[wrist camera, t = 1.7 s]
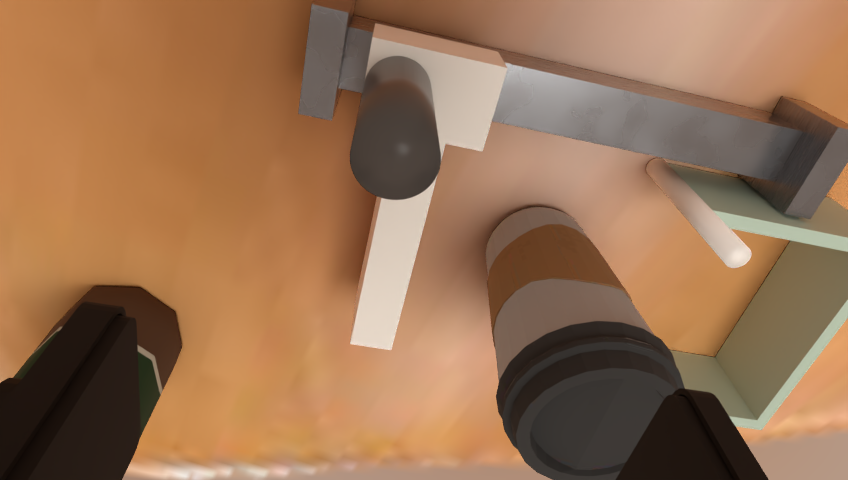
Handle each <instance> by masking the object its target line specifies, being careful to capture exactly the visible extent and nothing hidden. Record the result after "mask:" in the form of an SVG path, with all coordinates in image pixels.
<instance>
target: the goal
mask: <svg viewBox="0 0 848 480" xmlns="http://www.w3.org/2000/svg"><path fill="white" fill-rule="evenodd" d="M646 172H647V173H648V175H649V176H650V177H651V178H652V179H653V180H654V182H655V183H656V184H657V185H658V186H659V187H660V189H661V190H662V191H663V192H664V193H665V194H666V196H667V197H668V198H669V199H670V200H671V201H672V203H673V204H674V205H675V206H676V207H677V208H678V210H679V211H680V212H681V213H682V214H683V215H684V217H685V218H686V219H687V220H688V221H689V222H690V223H691V225H692V226H693V227H694V228H695V229H696V230H697V232H698V233H699V234H700V235H701V236H702V237H703V239H704V240H705V241H706V242H707V243H708V244H709V246H710V247H711V248H712V249H713V250H714V251H715V253H716V254H717V255H718V256H719V257H720V258H721V260H722V261H723V262H724V263H725V264H726V265H727V266H728V267H730V268H738V267H741V266H743V265H745V264H746V263H747V262H748V261H749V260H750V258H751V250H750V249H749V248H748V247H747V246H746V245H745V244H744V243H743V242H742V240H741V239H740V238H739V237H738V236H737V235H736V234H735V233H734V232H733V231H732V230H731V229H736V230H741V231H746V232H751V233H756V234H761V235H766V236H771V237H776V238H781V239H786V240H790V242H789V244H788V245H787V247H786V248H785V250H784V251H783V253H782V254H781V256H780V258H779V259H778V261H777V262H776V264H775V265H774V267H773V268H772V270H771V271H770V273H769V275H768V276H767V278H766V279H765V281H764V282H763V284H762V285H761V287H760V288H759V290H758V292H757V293H756V295H755V296H754V298H753V299H752V301H751V302H750V304H749V305H748V307H747V309H746V310H745V312H744V313H743V315H742V316H741V318H740V319H739V321H738V322H737V324H736V326H735V327H734V329H733V330H732V332H731V333H730V335H729V336H728V338H727V340H726V341H725V343H724V344H723V346H722V347H721V349H720V350H719V352H718V353H717V355H716V357H710V356H704V355H698V354H692V353H686V352H679V351H673V350H670V351H671V352H672V354H673V357H674V360H675V363H676V367H677V368H678V369H679V372H680V374H681V378H682V381H683V384H684V387H685V389H691V390H698V391H704V392H710V393H712V394H714V395H715V396H716V397H717V398H718V399H719V401H720V403H721V404H722V406H723V407H724V409H725V411H726V412H727V414H728V415H729V417H730V419H731V420H732V422H733V423H734V425H735V426H737V427H744V428H750V429H757V430H762V429H763V428H764V426H765V425H766V424H767V422H768V421H769V420H770V418H771V417H772V416H773V415H774V413H775V412H776V411H777V409H778V408H779V407H780V405H781V404H782V403H783V402H784V400H785V399H786V398H787V396H788V395H789V394H790V392H791V391H792V390H793V388H794V387H795V386H796V385H797V383H798V382H799V381H800V379H801V378H802V377H803V375H804V374H805V373H806V372H807V370H808V369H809V368H810V366H811V365H812V364H813V362H814V361H815V360H816V358H817V357H818V356H819V355H820V353H821V352H822V351H823V349H824V348H825V347H826V345H827V344H828V343H829V342H830V340H831V339H832V338H833V336H834V335H835V334H836V332H837V331H838V330H839V328H840V327H841V326H842V325H843V323H844V322H845V321H846V319H847V318H848V210H847V209H845V208H844V207H843V206H841V205H840V204H838V203H837V202H836V201H834V200H833V199H832V198H829V197H825V198H824V199H823V201H822V203H821V204H820V206H819V207H818V209H817V210H816V212H815V213H814V215H813V216H812V218H811V219H806V218H801V217H796V216H791V215H786V214H784V213H782V212H781V211H780V210H779V209H778V208H776V207H775V206H774V205H773V204H772V203H771V202H769V201H768V200H767V199H766V198H765V197H764V196H762V195H761V194H760V193H759V192H758V191H757V190H755V189H754V188H753V187H752V186H751V185H749V184H748V183H747V182H746V181H745V180H744V179H740V178H735V177H730V176H726V175H721V174H716V173H712V172H707V171H702V170H698V169H693V168H688V167H684V166H679V165H674V164H670V163H666V162H665V161H664V160H663V159H661V158H655V159H652V160H651V161H650V162H649V163H648V164H647V166H646ZM730 228H731V229H730Z"/></svg>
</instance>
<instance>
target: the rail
mask: <svg viewBox="0 0 848 480" xmlns="http://www.w3.org/2000/svg"><path fill="white" fill-rule="evenodd" d="M355 2H356V0H315V1H314V2H313V3H312V6H311V14H310V22H309V30H308V39H307V47H306V55H305V63H304V71H303V80H302V88H301V96H300V104H299V112H298V114H302V115H306V116H311V117H316V118H321V119H326V120H331V121H332V119H333V116H334V113H335V109H336V106H337V103H338V100H339V96H340V93H341V90H342V89H345V90H350V91H354V92H359V93H362V91H363V87H364V81H365V76H366V70H367V64H368V59H369V53H370V48H371V42H372V36H373V32H374V27H375V23H377V24H381V25H386V26H390V27H394V28H399V29H403V30H407V31H412V32H416V33H420V34H424V35H429V36H433V37H437V38H442V39H446V40H450V41H454V42H459V43H463V44H467V45H472V46H476V47H480V48H485V49H489V50H493V51H497V52H499V54H500V56H501V57H502V59H503V61H504V63H505V64H506V66H507V68H508V69H507V72H506V75H505V79H504V82H503V85H502V89H501V92H500V95H499V99H498V102H497V105H496V109H495V112H494V115H493V119H492V121H494V122H499V123H503V124H508V125H513V126H517V127H522V128H527V129H531V130H536V131H541V132H545V133H550V134H555V135H559V136H564V137H569V138H573V139H578V140H583V141H587V142H592V143H596V144H601V145H606V146H610V147H615V148H620V149H624V150H629V151H634V152H638V153H643V154H648V155H652V156H657V157H662V158H666V159H671V160H676V161H680V162H685V163H690V164H694V165H699V166H704V167H708V168H713V169H718V170H722V171H727V172H732V173H736V174H738V175H739V176H740V177H741V178H742V179H744V180H745V181H746V182H747V183H748V184H749V185H751V186H752V187H753V188H754V189H755V190H757V191H758V192H759V193H760V194H761V195H762V196H764V197H765V198H766V199H767V200H768V201H769V202H771V203H772V204H773V205H774V206H775V207H776V208H778V209H779V210H780V211H781V212H782V213H784V214H786V215H791V216H796V217H801V218H806V219H811V218H812V216H813V215H814V213H815V212H816V210H817V209H818V207H819V206H820V204H821V203H822V201H823V199H824V198H825V196H826V195H827V193H828V192H829V190H830V189H831V187H832V186H833V184H834V183H835V181H836V180H837V178H838V176H839V175H840V173H841V172H842V170H843V169H844V167H845V166H846V164H847V163H848V124H847V123H845V122H843V121H841V120H839V119H837V118H836V117H834V116H832V115H830V114H828V113H826V112H824V111H822V110H820V109H818V108H817V107H815V106H813V105H811V104H809V103H807V102H803V101H799V100H795V99H791V98H787V97H783V96H782V97H781V99H780V100H779V102H778V104H777V106H776V108H775V109H774V111H773V113H771V112H766V111H762V110H758V109H753V108H749V107H745V106H741V105H736V104H732V103H728V102H723V101H719V100H715V99H711V98H706V97H702V96H698V95H693V94H689V93H685V92H681V91H676V90H672V89H668V88H663V87H659V86H655V85H651V84H646V83H642V82H638V81H633V80H629V79H625V78H621V77H616V76H612V75H608V74H604V73H599V72H595V71H591V70H586V69H582V68H578V67H574V66H569V65H565V64H561V63H556V62H552V61H548V60H544V59H539V58H535V57H531V56H526V55H522V54H518V53H514V52H509V51H505V50H501V49H496V48H492V47H488V46H484V45H479V44H475V43H471V42H466V41H462V40H458V39H454V38H449V37H445V36H441V35H437V34H432V33H428V32H424V31H419V30H415V29H411V28H407V27H402V26H398V25H394V24H389V23H385V22H381V21H377V20H372V19H368V18H364V17H359V16H355V15H353V14H354V8H355Z"/></svg>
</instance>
